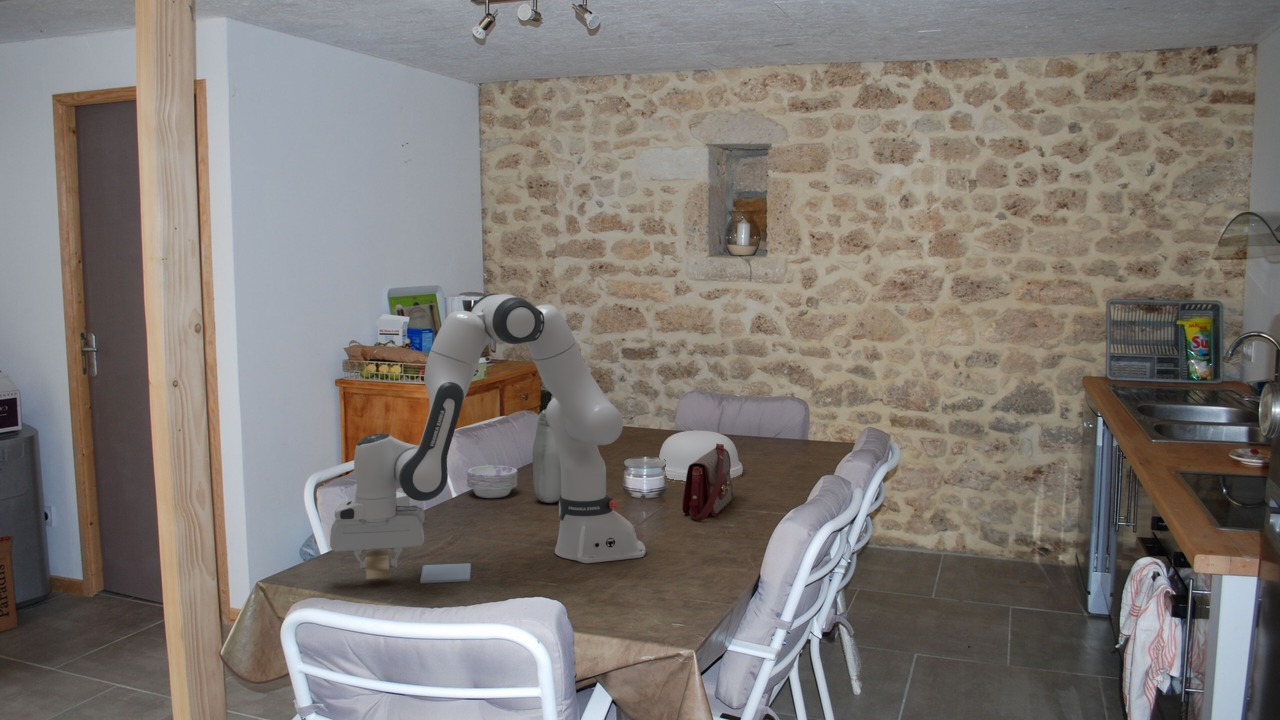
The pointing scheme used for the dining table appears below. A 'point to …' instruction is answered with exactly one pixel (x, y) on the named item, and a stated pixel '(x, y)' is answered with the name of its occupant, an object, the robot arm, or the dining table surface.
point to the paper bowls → (492, 480)
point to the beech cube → (378, 564)
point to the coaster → (446, 573)
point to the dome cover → (694, 452)
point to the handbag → (708, 484)
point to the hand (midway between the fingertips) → (378, 567)
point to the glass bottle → (546, 463)
